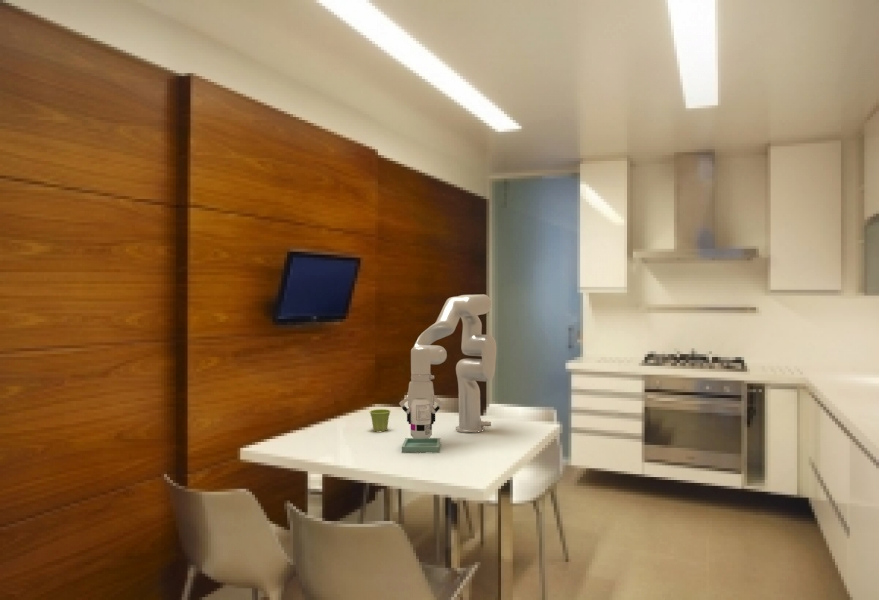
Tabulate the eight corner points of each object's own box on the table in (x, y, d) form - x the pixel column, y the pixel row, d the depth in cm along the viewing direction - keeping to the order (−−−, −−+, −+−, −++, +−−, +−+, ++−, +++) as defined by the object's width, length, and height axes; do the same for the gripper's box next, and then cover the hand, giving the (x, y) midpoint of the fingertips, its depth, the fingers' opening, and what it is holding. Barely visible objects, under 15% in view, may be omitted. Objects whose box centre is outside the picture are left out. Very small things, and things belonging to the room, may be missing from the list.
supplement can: (406, 438, 208) (406, 398, 208) (417, 433, 215) (417, 395, 215) (425, 440, 204) (424, 400, 204) (435, 435, 211) (435, 397, 211)
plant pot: (389, 432, 237) (389, 413, 237) (368, 433, 237) (367, 413, 237) (391, 428, 246) (391, 409, 246) (371, 428, 246) (371, 409, 246)
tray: (440, 443, 216) (440, 437, 216) (438, 452, 202) (438, 446, 202) (405, 443, 217) (405, 438, 217) (401, 452, 203) (401, 446, 203)
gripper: (443, 377, 213) (443, 421, 213) (399, 377, 214) (400, 421, 214) (442, 379, 206) (443, 425, 205) (397, 379, 207) (397, 425, 206)
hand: (421, 423), depth 210 cm, fingers closed on supplement can, 8 cm apart
